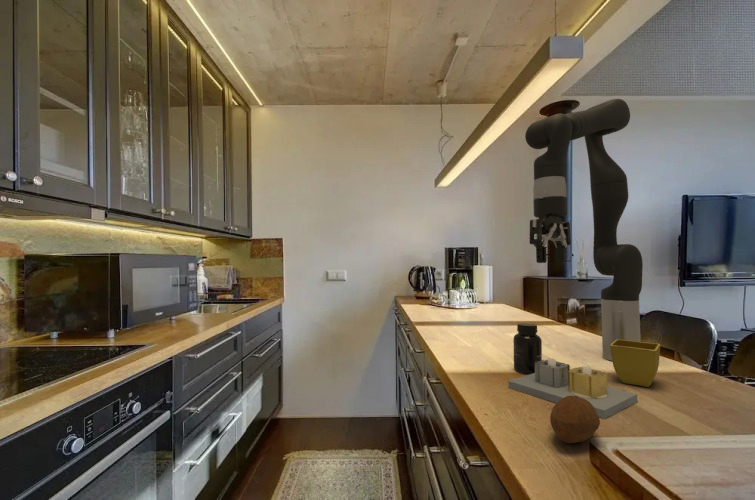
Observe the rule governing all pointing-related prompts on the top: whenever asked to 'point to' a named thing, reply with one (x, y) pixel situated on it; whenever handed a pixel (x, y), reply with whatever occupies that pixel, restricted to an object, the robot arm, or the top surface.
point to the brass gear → (587, 382)
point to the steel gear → (552, 373)
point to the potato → (574, 419)
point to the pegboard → (603, 405)
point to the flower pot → (635, 361)
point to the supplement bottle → (527, 348)
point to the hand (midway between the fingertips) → (551, 262)
